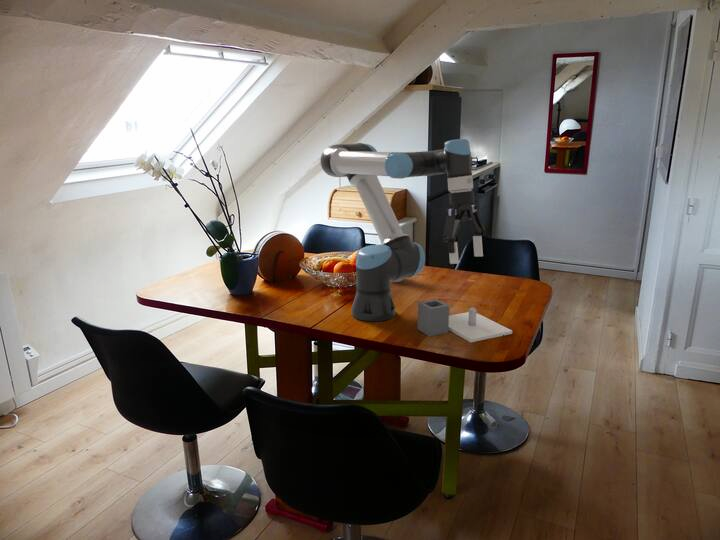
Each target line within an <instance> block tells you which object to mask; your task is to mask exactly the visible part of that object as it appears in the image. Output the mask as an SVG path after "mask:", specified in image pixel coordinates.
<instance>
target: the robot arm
mask: <svg viewBox="0 0 720 540" xmlns="http://www.w3.org/2000/svg"><path fill="white" fill-rule="evenodd" d="M319 162H320V166H321V169H322V171H324V173H325V174H326V175H327V176H330V177H333V178H334V177H335V178H341V177H342V178H345V177H346V178H347V179H348V182H349V184H350V185H351V186H353V187H356V189H357V192H358V194H359V196H360V199H361V200H362V203H363V205H364V207H365V210H366V212H367V214H368V216H369V219H370V220H371V223H372V226H373V228H374V230H375V232H376V234H377V237H378V239H379V241H380V243H381V244H372V245H366V246H364V247H361V248H360V249H359V250H358V251H357V254H356V260H355V266H356V267H355V269H356V271H355V273H356V291H355V292H356V293H355V296H354V300H353V302H352V306H351V316H352V317H353V318H354V319H356V320H360V321H364V322H365V321H366V322H383V321H388V320H391V319H392V318H394V317H395V316H396V306H395V303H394V299H393V297H392V294H391V293H392V292H391V284H392V282H391V281H395V280H399V279H403V280H404V279H407V278H409V279H410V278H412V277H414V276H416V275H419V274H420V273H421V272H422V270H423V269H424V267H425V263H426V254H425V251H424V248H423V247H422V246H421V245H420V244H419V243H417V242H413V241H412V239H411V237H410V234H407V233H404V232H403V229H402V228H401V225H400V223H399V221H398V218H397V217H396V216H397V215H396V214H395V212H394V210H393V208H392V206H391V204H390V202H389V199H388V198H387V194H386V192H385V191H384V188H383V186H382V184H381V182H380V180H379V178H378V176H379V177H380V176H381V177H389V178H392V179H400V180H402V179H406V178H407V179H408V178H414V177H433V176H437V175H443V174H446V175H447V191H448V192H450V193H448V198H449V199H448V200H449V205H450V206H452V208H447V209H446V217H445V219H446V220H445V223H444V227H443V228H444V229H443V233H442V239H441V240H442V242H444V243H447V248H448V249H447V250H448V254H449V255H448V256H449V264H450V265H455V264H456V265H458V264H460V263H459V262H460V261H459V250H458V241H456V239H457V237H458V234H459V231H460V229H461V226H462V225H463V223H466V224H467V225H468V227H469V229H470V230H471V231H472V233H473V235H474V236H473V235H472V241H473V242H472V243H473V256H474V257H484V253H483V238H482V237H483V236H485V235H486V228H485V225H484V223H483V220H482V217H481V214H480V211H479V206H478V204H473V203H475V192H474V191H473V189H474V179H473V172H472V152H471V145H470V142H469V140H468V139H467V138H459V139H451V140H448V141H447V140H446V141H445V142H444V148H441V149H436V150H427V151H426V150H423V151H413V152H412V151H409V152H405V151H404V152H403V151H402V152H401V151H393V152H392V151H377V149H376V147H374V146H373V145H371V144H369V143H362V142H358V143H347V144H346V143H345V144H344V143H342V144H340V143H337V144H333V145H329V146H327V147H326V148H325V149H324V150H323V152H322V153H321V154H320V161H319Z"/></svg>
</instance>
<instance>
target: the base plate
mask: <svg viewBox="0 0 720 540" xmlns="http://www.w3.org/2000/svg"><path fill="white" fill-rule="evenodd" d="M448 331H450V332H451V333H453V334H455V335H457V336H459V337H460V338H462V339H464V340H465V341H467V342H468V343H470V344H471V343H475V342H479V341H483V340H484V341H485V340H490V339H494V338H499V337H503V335H504V336H508V335H512V334H513V330H512V329H510V328H508V327H506V326H504V325H501V324H499V323H498V322H496V321H493V320H492V319H490V318H488V317H486V316H483V315H481V314H480V313H479V312H478V311H477V309H476V308H475V307H471V308H469V309H468V311H467V312H461V313H457V314H456V313H455V314H452V315H451V314H449V327H448Z"/></svg>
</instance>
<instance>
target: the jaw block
mask: <svg viewBox="0 0 720 540" xmlns="http://www.w3.org/2000/svg"><path fill="white" fill-rule="evenodd" d="M449 316H450V305H449V304H447V303H445V302H443V301H441V300H439V299H430V300H423V301H419V302H417V330H419V331H420V332H422V333H423V334H425V335H426V336H428V337H433V336H440V335H444V334H447V333H449V330H448V327H449Z"/></svg>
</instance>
